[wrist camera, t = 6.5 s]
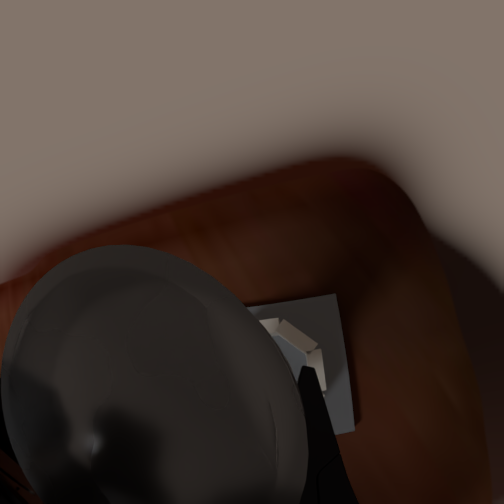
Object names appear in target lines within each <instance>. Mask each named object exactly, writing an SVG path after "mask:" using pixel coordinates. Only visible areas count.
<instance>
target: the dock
mask: <svg viewBox="0 0 504 504" xmlns="http://www.w3.org/2000/svg"><path fill="white" fill-rule="evenodd" d="M247 309H248V310H249V311H250V312H251V313H252V314H253V315H254V316H255V317H256V318H257V319H258V320H259V321H260V323H261V324H262V325H263V326H264V327H265V328H266V329H267V331H268V332H269V333H270V335H271V336H272V337H273V339H274V340H275V341H276V343H277V344H278V346H279V347H280V349H281V351H282V353H283V354H284V356H285V357H286V358H287V360H288V361H289V363H290V365H291V367H292V370H293V374H294V377H295V380H296V382H297V380H298V377H299V373H300V370H301V367H302V366H303V365H305V366H309V367H314V368H315V370H316V373H317V377H318V380H319V383H320V386H321V390H322V393H323V396H324V400H325V403H326V406H327V410H328V413H329V416H330V420H331V423H332V426H333V430H334V433H335V435H336V434H341V433H346V432H351V431H355V427H354V416H353V406H352V397H351V389H350V381H349V373H348V366H347V358H346V352H345V345H344V338H343V332H342V326H341V320H340V314H339V309H338V303H337V298H336V293H335V294H330V295H324V296H318V297H312V298H307V299H300V300H294V301H288V302H282V303H275V304H268V305H261V306H254V307H247Z"/></svg>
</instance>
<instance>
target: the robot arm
mask: <svg viewBox="0 0 504 504" xmlns="http://www.w3.org/2000/svg"><path fill="white" fill-rule="evenodd" d="M297 385H298V387H299V391H300V395H301V399H302V403H303V407H304V412H305V420H306V428H307V440H308V466H307V476H306V482H305V486H304V489H303V493H302V496H301V499H300V503H299V504H359V503H358V501H357V498H356V496H355V494H354V492H353V489H352V487H351V484H350V482H349V479H348V477H347V474H346V470H345V467H344V464H343V461H342V457H341V454H339V453H340V451H339V447H338V444H337V440H336V437H335V433H334V430H333V426H332V423H331V420H330V416H329V413H328V410H327V406H326V403H325V400H324V396H323V393H322V390H321V386H320V383H319V380H318V377H317V373H316V370H315V368H314V367H309V366H305V365H303V366H302V367H301V370H300V373H299V377H298V380H297ZM0 504H44V503H43V502H42V500H41V499H40V498H39V496H38V495H37V494H36V492H35V491H34V489H33V488H32V486H31V485H30V483H29V481H28V480H27V478H26V476H25V474H24V472H23V471H22V469H21V467H20V465H19V463H18V460H17V458H16V456H15V453H14V451H13V448H12V445H11V443H10V439H9V436H8V432H7V429H6V425H5V420H4V415H3V409H2V399H1V378H0Z"/></svg>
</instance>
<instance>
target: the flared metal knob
mask: <svg viewBox="0 0 504 504" xmlns="http://www.w3.org/2000/svg"><path fill="white" fill-rule="evenodd" d="M1 399H2V409H3V415H4V420H5V425H6V429H7V432H8V436H9V439H10V443H11V445H12V448H13V451H14V453H15V456H16V458H17V460H18V463H19V465H20V467H21V469H22V471H23V472H24V474H25V476H26V478H27V480H28V481H29V483H30V485H31V486H32V488H33V489H34V491H35V492H36V494H37V495H38V496H39V498H40V499H41V500H42V502H43V503H44V504H299V503H300V499H301V496H302V493H303V489H304V486H305V482H306V476H307V466H308V440H307V428H306V420H305V412H304V407H303V403H302V399H301V395H300V391H299V387H298V385H297V382H296V380H295V377H294V374H293V370H292V367H291V365H290V363H289V361H288V360H287V358H286V357H285V356H284V354H283V353H282V351H281V349H280V347H279V346H278V344H277V343H276V341H275V340H274V339H273V337H272V336H271V335H270V333H269V332H268V331H267V329H266V328H265V327H264V326H263V325H262V324H261V323H260V321H259V320H258V319H257V318H256V317H255V316H254V315H253V314H252V313H251V312H250V311H249V310H248V309H247V308H246V307H245V306H244V305H243V303H242V302H241V301H240V300H239V299H238V298H237V297H236V296H235V295H234V294H233V293H232V292H230V291H229V290H228V289H227V288H226V287H224V286H223V285H222V284H221V283H219V282H218V281H217V280H216V279H215V278H213V277H212V276H211V275H209V274H207V273H206V272H204V271H202V270H201V269H199V268H198V267H196V266H194V265H193V264H191V263H189V262H187V261H185V260H183V259H180V258H178V257H176V256H174V255H171V254H169V253H166V252H162V251H159V250H155V249H152V248H148V247H141V246H133V245H108V246H103V247H98V248H93V249H89V250H87V251H84V252H81V253H78V254H76V255H74V256H72V257H70V258H68V259H66V260H64V261H63V262H61V263H59V264H58V265H57V266H55V267H54V268H53V269H51V270H50V271H49V272H47V273H46V274H45V275H44V276H43V277H42V278H41V279H40V280H39V281H38V282H37V283H36V284H35V286H34V287H33V288H32V289H31V291H30V292H29V293H28V295H27V296H26V298H25V299H24V301H23V302H22V304H21V306H20V308H19V309H18V311H17V313H16V315H15V318H14V320H13V322H12V324H11V327H10V330H9V333H8V336H7V340H6V344H5V348H4V353H3V359H2V368H1Z"/></svg>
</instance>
